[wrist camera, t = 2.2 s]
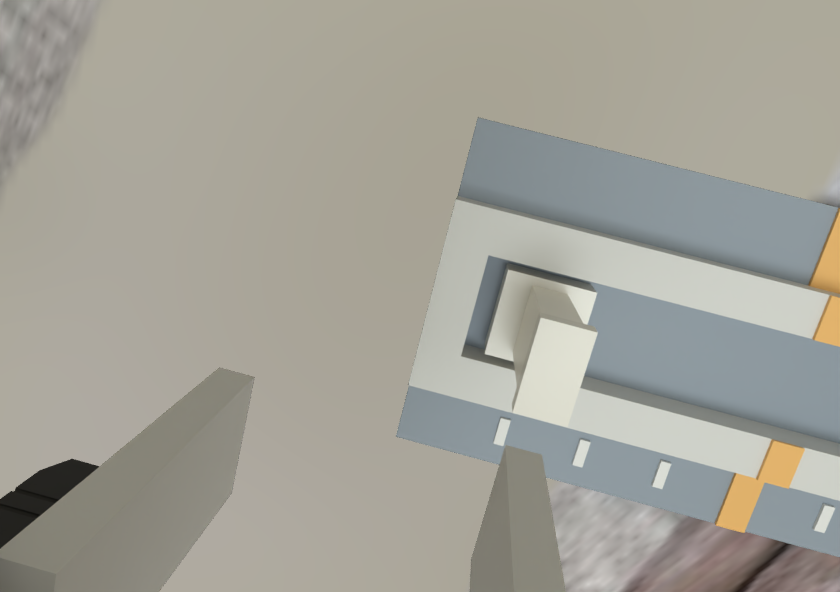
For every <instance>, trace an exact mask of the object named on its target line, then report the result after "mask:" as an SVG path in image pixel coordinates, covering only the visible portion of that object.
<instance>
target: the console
mask: <svg viewBox="0 0 840 592" xmlns="http://www.w3.org/2000/svg"><path fill="white" fill-rule="evenodd" d="M507 263H510V264H514V265H518V266H522V267H526V268H529V269H533V270H537V271H541V272H545V273H549V274H553V275H556V276H560V277H564V278H568V279H572V280H576V281H580V282H583V283H587V284H591V285H592V286H593V287H594V289H595V290H596V291H597V296H596V299H595V302H594V305H593V309H592V312H591V315H590V318H589V321H588V324H587V325H591V326H594V327H595V328H596V330H597V332H598V334H597V337H596V340H595V343H594V346H593V350H592V353H591V356H590V359H589V362H588V365H587V368H586V371H585V374H584V378H583V381H582V384H581V387H580V390H579V393H578V396H577V399H576V402H575V405H574V409H573V412H572V415H571V418H570V421H569V424H568V427H564V426H561V425H557V424H553V423H549V422H546V421H542V420H538V419H534V418H531V417H527V416H523V415H520V414H516V413H512V401H513V398H514V395H515V391H516V388H517V384H516V376H515V367H514V362H513V361H509V360H506V359H502V358H498V357H494V356H491V355H487V354H485V340H486V336H487V333H488V329H489V326H490V322H491V319H492V315H493V312H494V308H495V304H496V301H497V297H498V294H499V290H500V287H501V283H502V279H503V276H504V272H505V269H506V265H507ZM408 385H409V388H408V392H407V396H406V399H405V404H404V407H403V411H402V415H401V419H400V423H399V427H398V431H397V435H396V437H399V438H403V439H407V440H411V441H414V442H418V443H421V444H425V445H429V446H432V447H436V448H440V449H443V450H447V451H451V452H454V453H458V454H462V455H465V456H469V457H473V458H477V459H480V460H484V461H488V462H492V463H495V464H499V465H500V461H501V458H502V455H503V451H504V448H505V445H508V446H512V447H515V448H519V449H523V450H526V451H530V452H534V453H537V454H541V455H542V458H543V464H544V469H545V475H546V478H550V479H554V480H557V481H561V482H565V483H568V484H572V485H576V486H579V487H583V488H587V489H591V490H594V491H598V492H602V493H605V494H609V495H613V496H616V497H620V498H624V499H627V500H631V501H635V502H638V503H642V504H646V505H649V506H653V507H657V508H660V509H664V510H668V511H671V512H675V513H679V514H683V515H686V516H690V517H694V518H697V519H701V520H705V521H708V522H712V523H715V525H716V526H720V527H724V528H727V529H731V530H735V531H738V532H742V533H744V532H749V533H752V534H756V535H760V536H763V537H767V538H771V539H775V540H778V541H782V542H786V543H789V544H793V545H797V546H800V547H804V548H808V549H811V550H815V551H819V552H822V553H826V554H830V555H833V556H837V557H840V208H838V207H834V206H830V205H826V204H822V203H818V202H814V201H810V200H806V199H802V198H798V197H794V196H790V195H786V194H782V193H778V192H774V191H770V190H765V189H762V188H758V187H754V186H750V185H746V184H742V183H738V182H734V181H730V180H726V179H722V178H718V177H714V176H710V175H706V174H702V173H698V172H694V171H690V170H686V169H682V168H678V167H674V166H670V165H666V164H662V163H657V162H654V161H650V160H646V159H642V158H638V157H634V156H630V155H626V154H622V153H618V152H614V151H610V150H606V149H602V148H598V147H594V146H590V145H586V144H582V143H578V142H574V141H570V140H566V139H562V138H558V137H554V136H550V135H546V134H542V133H538V132H534V131H530V130H526V129H522V128H518V127H514V126H510V125H506V124H502V123H498V122H494V121H490V120H486V119H482V118H478V119H477V123H476V127H475V131H474V134H473V138H472V142H471V146H470V150H469V154H468V158H467V162H466V166H465V169H464V173H463V178H462V181H461V185H460V189H459V193H458V196H457V198H456V200H455V204H454V208H453V212H452V216H451V220H450V223H449V228H448V231H447V235H446V240H445V243H444V247H443V251H442V255H441V259H440V263H439V266H438V270H437V274H436V278H435V282H434V286H433V290H432V294H431V298H430V302H429V306H428V309H427V314H426V317H425V321H424V325H423V329H422V333H421V337H420V341H419V345H418V349H417V352H416V356H415V360H414V364H413V368H412V372H411V376H410V380H409V384H408Z"/></svg>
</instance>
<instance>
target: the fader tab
mask: <svg viewBox="0 0 840 592" xmlns="http://www.w3.org/2000/svg"><path fill="white" fill-rule="evenodd" d="M596 296H597V291H596V290H595V289H594V287H593V286H592V285H591V284H587V283H583V282H580V281H576V280H572V279H568V278H564V277H560V276H556V275H553V274H549V273H545V272H541V271H537V270H533V269H529V268H526V267H522V266H518V265H514V264H510V263H507V265H506V269H505V272H504V276H503V279H502V283H501V287H500V290H499V294H498V297H497V301H496V304H495V308H494V312H493V315H492V319H491V322H490V326H489V329H488V333H487V336H486V340H485V354H487V355H491V356H494V357H498V358H502V359H506V360H509V361H513V362H514V367H515V376H516V384H517V388H516V391H515V395H514V398H513V401H512V413H516V414H520V415H523V416H527V417H531V418H534V419H538V420H542V421H546V422H549V423H553V424H557V425H561V426H564V427H568V424H569V421H570V418H571V415H572V412H573V409H574V405H575V402H576V399H577V396H578V393H579V390H580V387H581V384H582V381H583V378H584V374H585V371H586V368H587V365H588V362H589V359H590V356H591V353H592V350H593V346H594V343H595V340H596V337H597V334H598V332H597V330H596V328H595V327H594V326H591V325H587V324H588V321H589V318H590V315H591V312H592V309H593V305H594V302H595V299H596Z"/></svg>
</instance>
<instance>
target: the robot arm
mask: <svg viewBox="0 0 840 592" xmlns="http://www.w3.org/2000/svg"><path fill="white" fill-rule="evenodd" d="M254 378H255V377H252V376H249V375H245V374H241V373H238V372H234V371H230V370H226V369H223V368H218V369H217V370H216V371H215V372H213V373H212V374H211V375H210V376H209V377H207V378H206V379H205V380H204V381H202V382H201V383H200V384H199V385H198V386H196V387H195V388H194V389H193V390H192V391H190V392H189V393H188V394H187V395H186V396H184V397H183V398H182V399H181V400H180V401H178V402H177V403H176V404H175V405H174V406H172V407H171V408H170V409H169V410H167V411H166V412H165V413H164V414H163V415H161V416H160V417H159V418H158V419H157V420H155V421H154V422H153V423H152V424H151V425H149V426H148V427H147V428H146V429H145V430H143V431H142V432H141V433H140V434H138V435H137V436H136V437H135V438H134V439H132V440H131V441H130V442H129V443H128V444H126V445H125V446H124V447H123V448H121V449H120V450H119V451H118V452H117V453H115V454H114V455H113V456H112V457H111V458H109V459H108V460H107V461H106V462H105V463H103V464H102V465H101V466H100V467H99V466H96V465H92V464H89V463H85V462H81V461H78V460H74V459H70V460H68V461H65V462H62V463H59V464H56V465H54V466H51V467H48V468H45V469H43V470H40V471H38V472H37V473H36V474H34V475H33V476H31V477H30V478H29V479H27V480H26V481H24V482H23V483H22V484H20V485H19V486H18V487H16V489H15V491H14V492H12V491H11V492H10V493H8V494H7V495H5V496H4V497H2V498H1V499H0V592H159V591H160V590H161V588H162V587H163V586H164V584H165V583H166V582H167V580H168V579H169V578H170V576H171V575H172V573H173V572H174V571H175V569H176V568H177V566H178V565H179V564H180V563H181V561H182V560H183V559H184V557H185V556H186V554H187V553H188V552H189V550H190V549H191V548H192V546H193V545H194V544H195V542H196V541H197V540H198V538H199V537H200V536H201V534H202V533H203V531H204V530H205V529H206V527H207V526H208V525H209V523H210V522H211V521H212V519H213V518H214V516H215V515H216V514H217V512H218V511H219V510H220V508H221V507H222V506H223V504H224V503H225V502H226V500H227V499H228V498H229V496H230V495H231V493H232V489H233V484H234V479H235V474H236V469H237V464H238V459H239V454H240V448H241V444H242V438H243V433H244V428H245V423H246V418H247V413H248V408H249V403H250V398H251V392H252V388H253V383H254ZM470 592H566V590H565V585H564V579H563V573H562V567H561V562H560V556H559V550H558V544H557V538H556V533H555V527H554V521H553V515H552V510H551V504H550V498H549V492H548V487H547V481H546V475H545V469H544V464H543V458H542V455H541V454H537V453H534V452H530V451H526V450H523V449H519V448H515V447H512V446H508V445H505V448H504V451H503V455H502V458H501V461H500V465H499V468H498V471H497V475H496V478H495V481H494V485H493V488H492V492H491V495H490V498H489V501H488V505H487V508H486V511H485V515H484V518H483V521H482V525H481V528H480V531H479V535H478V538H477V541H476V545H475V548H474V551H473V555H472V559H471V572H470Z"/></svg>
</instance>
